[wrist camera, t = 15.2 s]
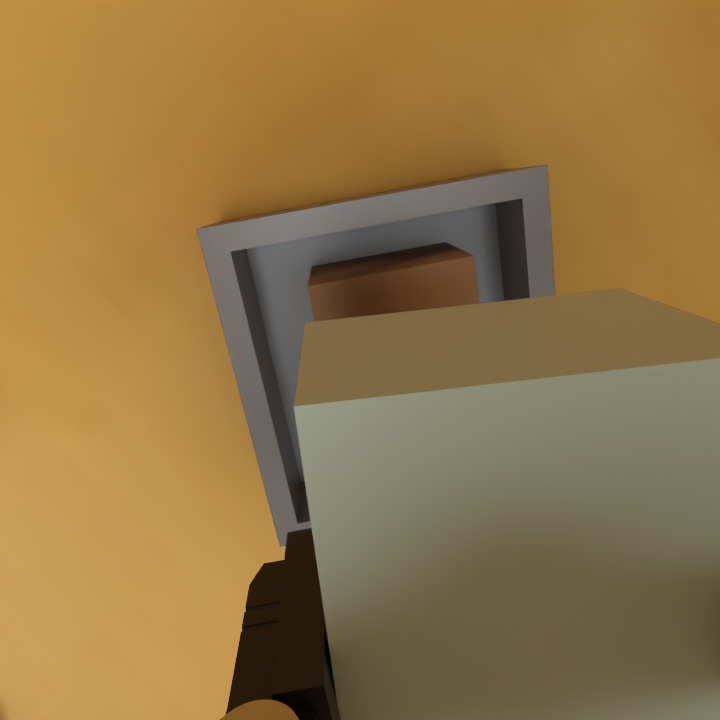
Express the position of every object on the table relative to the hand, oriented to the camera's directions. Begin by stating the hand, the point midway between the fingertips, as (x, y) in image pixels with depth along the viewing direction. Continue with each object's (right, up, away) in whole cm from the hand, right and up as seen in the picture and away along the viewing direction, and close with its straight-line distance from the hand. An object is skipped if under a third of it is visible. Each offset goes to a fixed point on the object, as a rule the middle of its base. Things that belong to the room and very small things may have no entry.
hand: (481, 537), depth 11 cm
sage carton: (0, 0, +1) cm, 1 cm away
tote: (-1, +4, +15) cm, 16 cm away
